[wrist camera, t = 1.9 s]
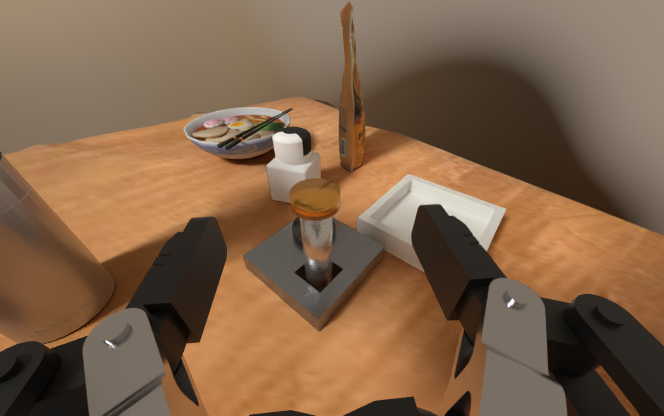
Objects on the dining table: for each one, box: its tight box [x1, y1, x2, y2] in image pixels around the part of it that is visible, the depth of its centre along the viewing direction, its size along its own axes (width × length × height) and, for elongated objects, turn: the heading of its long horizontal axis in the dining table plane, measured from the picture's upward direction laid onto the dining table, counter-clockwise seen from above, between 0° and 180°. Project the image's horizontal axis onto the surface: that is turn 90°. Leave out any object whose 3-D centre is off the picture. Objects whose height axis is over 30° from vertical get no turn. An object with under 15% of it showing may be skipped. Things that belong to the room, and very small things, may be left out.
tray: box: [357, 174, 506, 273], centre depth 38 cm, size 16×16×4 cm
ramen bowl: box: [183, 107, 293, 159], centre depth 58 cm, size 25×23×8 cm
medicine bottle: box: [266, 127, 321, 203], centre depth 43 cm, size 7×7×12 cm
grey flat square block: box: [243, 217, 385, 331], centre depth 32 cm, size 13×13×4 cm
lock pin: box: [289, 178, 340, 292], centre depth 27 cm, size 5×5×14 cm
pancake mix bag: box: [339, 2, 365, 172], centre depth 50 cm, size 7×19×28 cm, turn 173°
